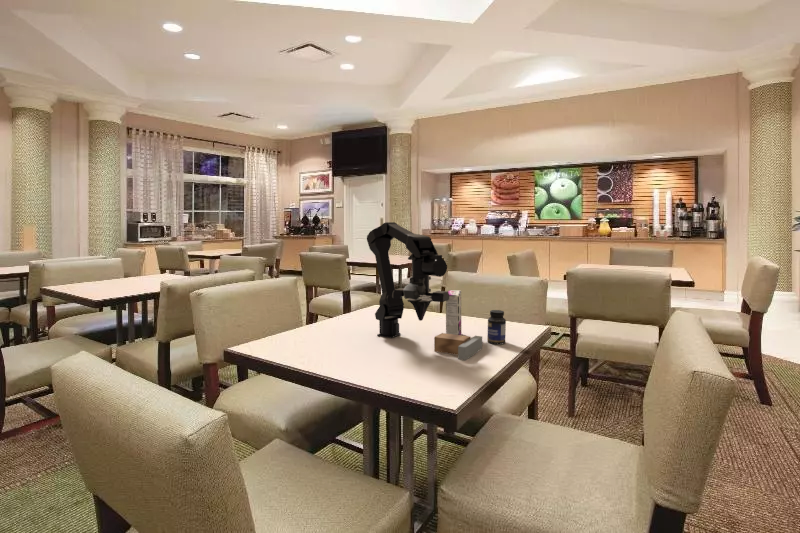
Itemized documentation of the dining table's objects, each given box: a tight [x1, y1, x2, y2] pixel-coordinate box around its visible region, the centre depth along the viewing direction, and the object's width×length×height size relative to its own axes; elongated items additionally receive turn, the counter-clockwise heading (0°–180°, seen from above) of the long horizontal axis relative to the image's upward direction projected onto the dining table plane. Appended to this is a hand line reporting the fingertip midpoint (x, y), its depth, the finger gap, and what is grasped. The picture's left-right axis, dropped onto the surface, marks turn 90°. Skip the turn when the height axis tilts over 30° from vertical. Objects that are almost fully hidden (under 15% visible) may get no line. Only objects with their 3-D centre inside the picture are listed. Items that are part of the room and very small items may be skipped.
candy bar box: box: [445, 289, 463, 335], centre depth 171 cm, size 11×5×16 cm, turn 168°
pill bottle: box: [487, 309, 507, 345], centre depth 164 cm, size 6×6×11 cm
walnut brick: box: [433, 332, 471, 356], centre depth 154 cm, size 10×6×5 cm, turn 60°
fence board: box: [457, 335, 483, 361], centre depth 151 cm, size 2×15×4 cm, turn 151°
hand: (420, 320), depth 159 cm, fingers closed
